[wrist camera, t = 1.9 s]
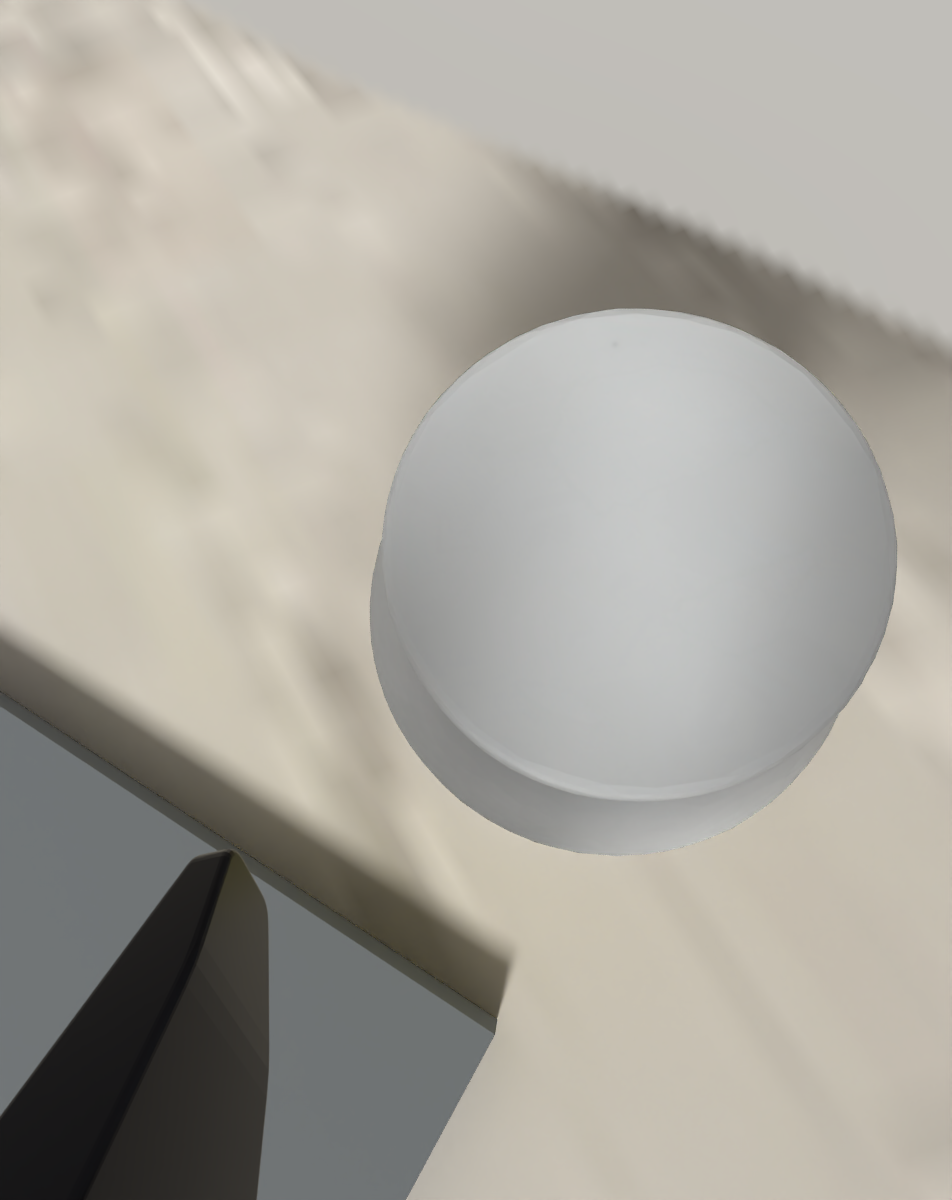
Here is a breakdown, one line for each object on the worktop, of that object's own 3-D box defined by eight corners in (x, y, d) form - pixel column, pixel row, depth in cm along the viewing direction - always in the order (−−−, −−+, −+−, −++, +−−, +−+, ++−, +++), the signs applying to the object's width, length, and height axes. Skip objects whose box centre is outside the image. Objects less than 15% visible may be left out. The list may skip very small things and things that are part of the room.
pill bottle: (528, 498, 19) (517, 133, 8) (767, 630, 18) (1116, 407, 7) (387, 725, 18) (166, 649, 7) (630, 878, 17) (793, 1054, 6)
